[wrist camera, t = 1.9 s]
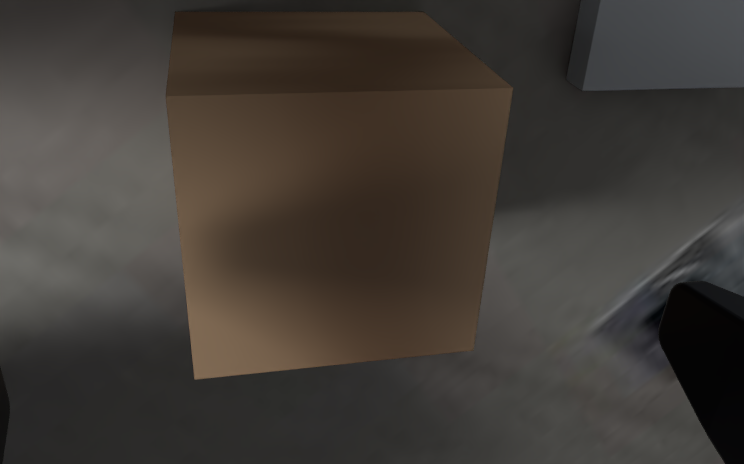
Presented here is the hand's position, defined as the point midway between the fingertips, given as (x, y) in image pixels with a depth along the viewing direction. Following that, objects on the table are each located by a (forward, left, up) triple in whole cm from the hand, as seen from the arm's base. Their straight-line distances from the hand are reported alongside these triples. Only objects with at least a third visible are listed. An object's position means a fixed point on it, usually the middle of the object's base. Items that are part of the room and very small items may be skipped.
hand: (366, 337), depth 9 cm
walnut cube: (0, 0, -7) cm, 7 cm away
